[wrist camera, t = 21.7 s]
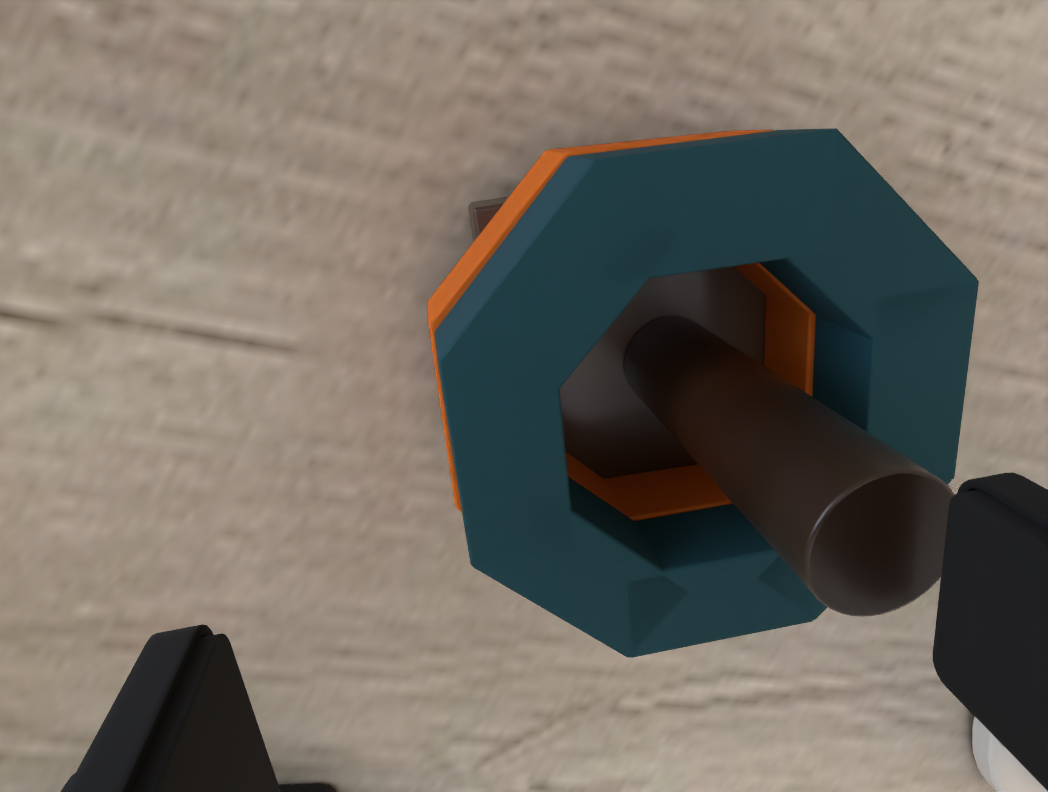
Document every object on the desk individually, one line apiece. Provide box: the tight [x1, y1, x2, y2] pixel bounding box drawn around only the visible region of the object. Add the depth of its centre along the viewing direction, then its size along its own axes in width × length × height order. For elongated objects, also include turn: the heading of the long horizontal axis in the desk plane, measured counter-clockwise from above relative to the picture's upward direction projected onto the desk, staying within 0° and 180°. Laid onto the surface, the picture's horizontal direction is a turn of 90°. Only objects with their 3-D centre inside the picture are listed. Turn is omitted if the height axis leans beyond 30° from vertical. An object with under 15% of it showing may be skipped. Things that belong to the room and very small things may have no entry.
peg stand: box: [469, 197, 954, 616], centre depth 15 cm, size 9×9×10 cm
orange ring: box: [427, 130, 816, 521], centre depth 17 cm, size 11×11×2 cm
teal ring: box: [435, 129, 979, 657], centre depth 15 cm, size 11×11×2 cm
